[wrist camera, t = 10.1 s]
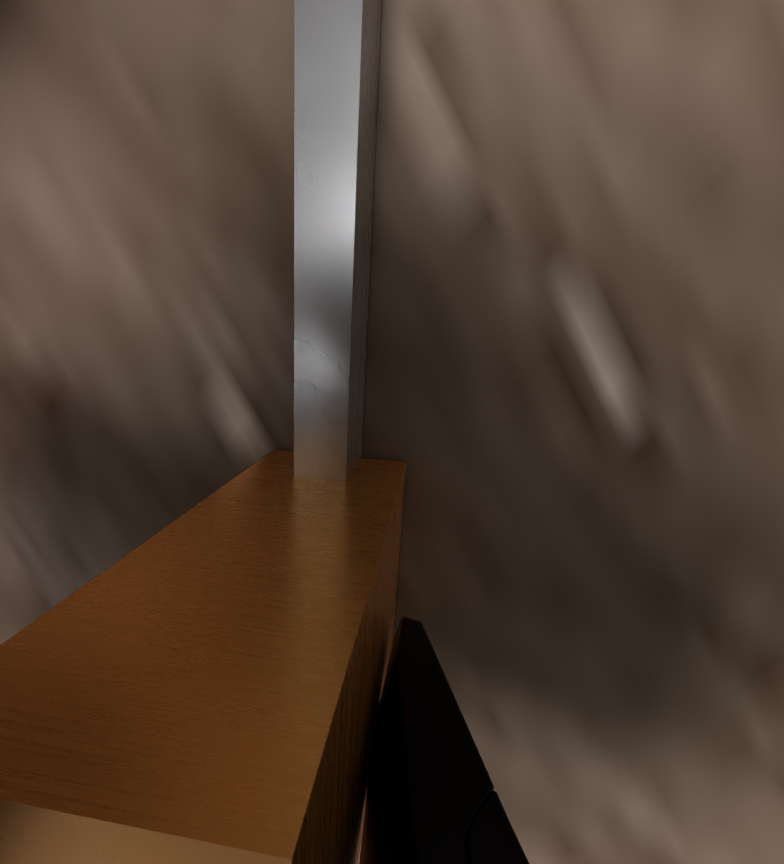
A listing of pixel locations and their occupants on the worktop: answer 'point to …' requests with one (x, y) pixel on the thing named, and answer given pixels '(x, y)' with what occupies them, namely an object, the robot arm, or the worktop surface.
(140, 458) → the worktop surface
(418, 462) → the worktop surface
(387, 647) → the blade tool
